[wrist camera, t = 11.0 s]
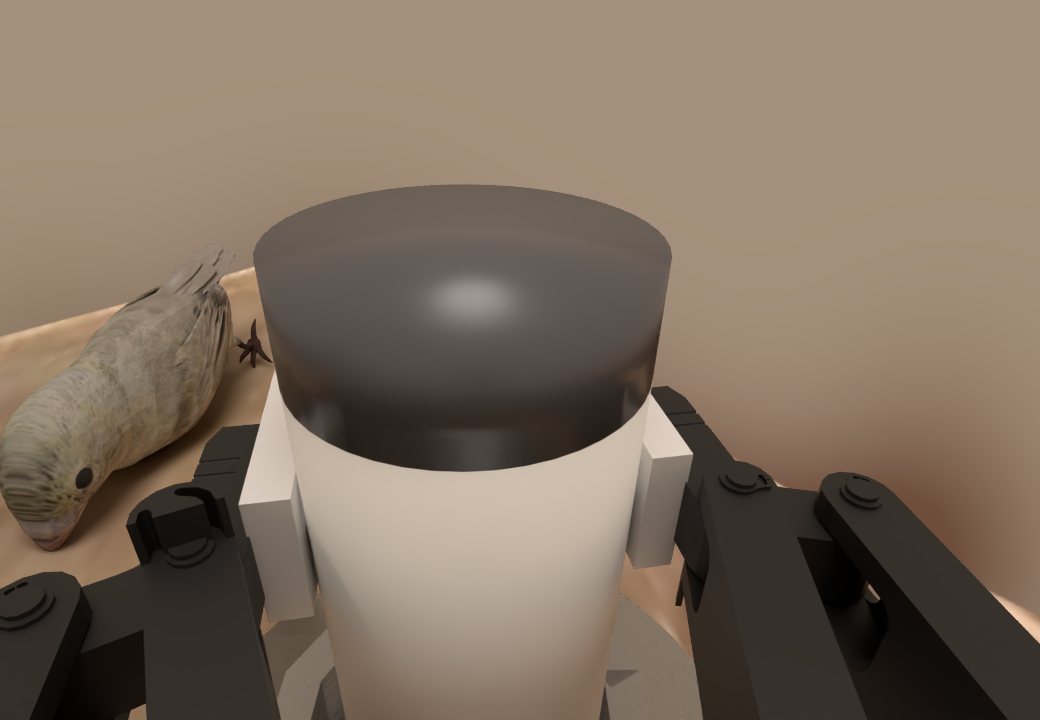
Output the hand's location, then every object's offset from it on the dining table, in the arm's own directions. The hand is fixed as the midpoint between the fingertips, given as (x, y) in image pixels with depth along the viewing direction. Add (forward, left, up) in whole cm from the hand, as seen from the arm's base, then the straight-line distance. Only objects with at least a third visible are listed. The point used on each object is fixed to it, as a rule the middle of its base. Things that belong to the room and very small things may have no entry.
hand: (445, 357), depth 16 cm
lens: (+3, -4, -7) cm, 9 cm away
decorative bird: (-19, +2, -12) cm, 22 cm away
